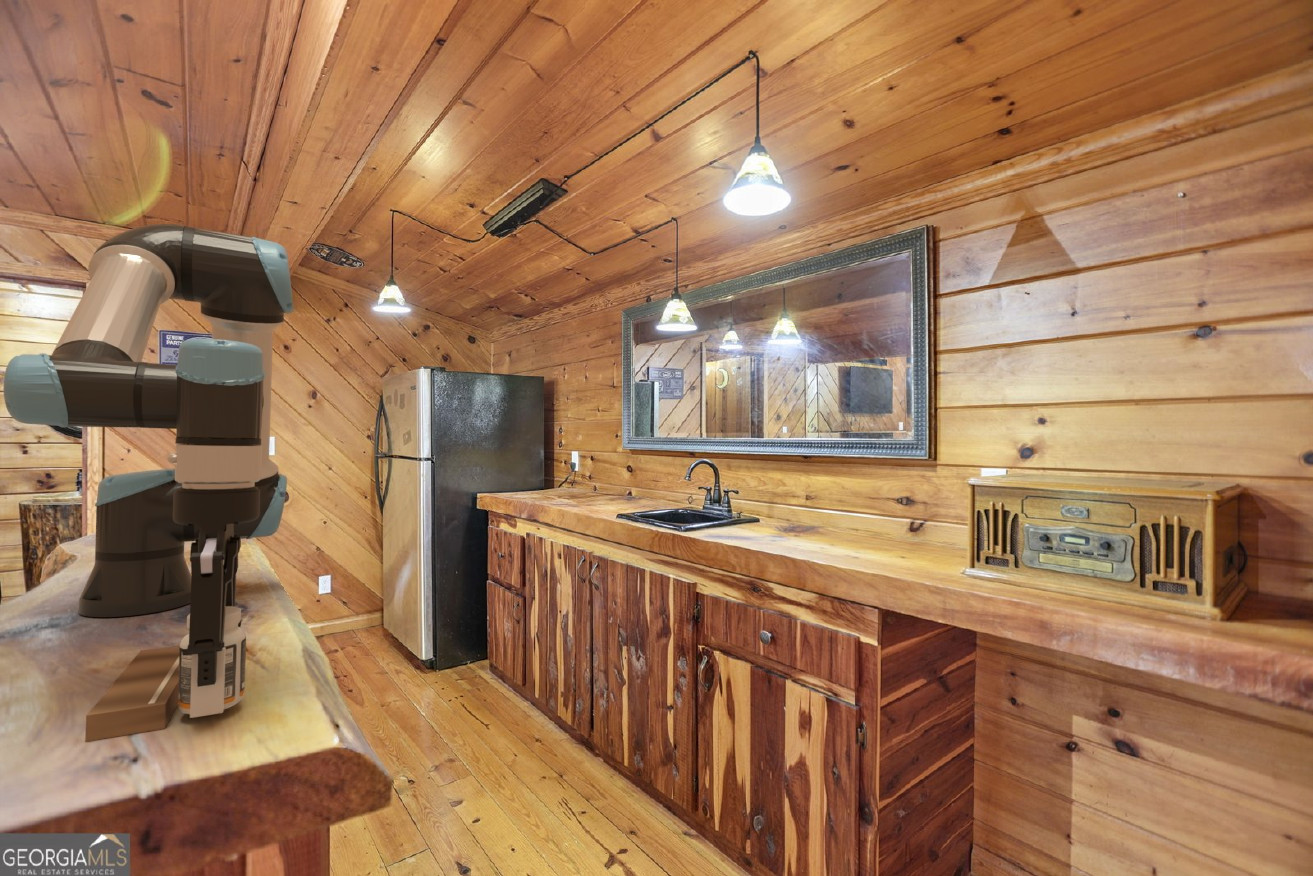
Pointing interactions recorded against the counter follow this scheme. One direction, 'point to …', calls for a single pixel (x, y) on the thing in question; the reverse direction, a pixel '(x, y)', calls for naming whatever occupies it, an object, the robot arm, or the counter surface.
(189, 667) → the pill bottle
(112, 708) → the plank
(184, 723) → the counter surface
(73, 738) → the counter surface
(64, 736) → the counter surface
